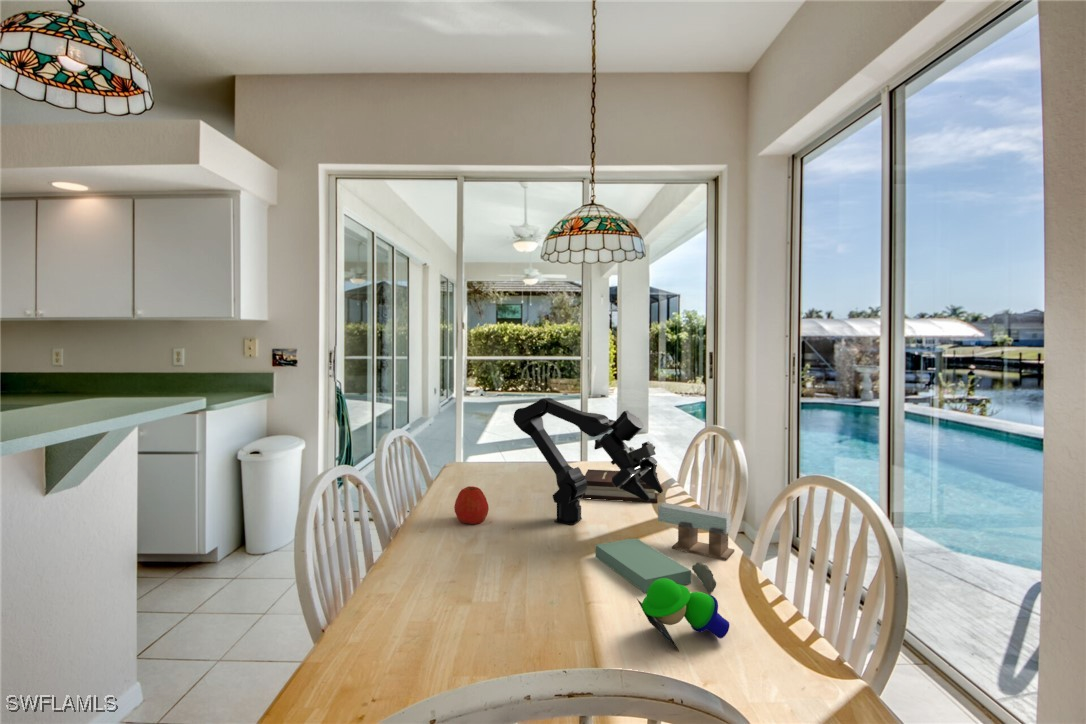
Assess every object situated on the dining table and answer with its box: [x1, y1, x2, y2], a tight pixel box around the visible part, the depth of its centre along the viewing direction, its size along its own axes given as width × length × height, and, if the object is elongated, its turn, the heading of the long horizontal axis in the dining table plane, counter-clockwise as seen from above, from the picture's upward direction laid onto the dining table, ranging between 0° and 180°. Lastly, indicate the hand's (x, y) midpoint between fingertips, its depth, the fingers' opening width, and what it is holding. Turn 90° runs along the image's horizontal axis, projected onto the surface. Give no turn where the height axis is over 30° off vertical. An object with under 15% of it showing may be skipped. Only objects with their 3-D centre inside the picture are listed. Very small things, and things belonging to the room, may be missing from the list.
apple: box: [453, 485, 489, 525], centre depth 165 cm, size 10×10×10 cm
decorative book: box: [581, 469, 665, 504], centre depth 194 cm, size 19×8×30 cm
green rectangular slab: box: [595, 537, 692, 594], centre depth 130 cm, size 22×12×3 cm, turn 24°
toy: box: [636, 578, 730, 651], centre depth 101 cm, size 10×11×15 cm
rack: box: [671, 523, 735, 561], centre depth 142 cm, size 14×7×7 cm, turn 56°
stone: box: [691, 561, 717, 595], centre depth 123 cm, size 13×2×5 cm, turn 5°
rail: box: [657, 502, 732, 534], centre depth 144 cm, size 18×4×4 cm, turn 56°
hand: (655, 496), depth 150 cm, fingers open, 9 cm apart
